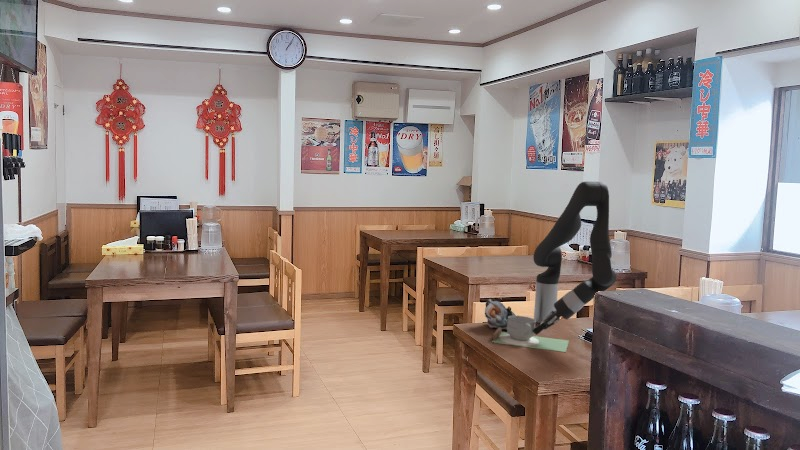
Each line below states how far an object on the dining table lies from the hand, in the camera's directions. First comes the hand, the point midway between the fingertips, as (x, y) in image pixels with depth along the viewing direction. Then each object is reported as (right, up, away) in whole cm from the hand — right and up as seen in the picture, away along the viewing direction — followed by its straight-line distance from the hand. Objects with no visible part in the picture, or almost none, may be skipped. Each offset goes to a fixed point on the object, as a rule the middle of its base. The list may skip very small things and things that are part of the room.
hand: (534, 332), depth 236 cm
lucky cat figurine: (-10, -2, +19) cm, 21 cm away
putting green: (-1, -4, +1) cm, 4 cm away
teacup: (-5, -3, +3) cm, 6 cm away
